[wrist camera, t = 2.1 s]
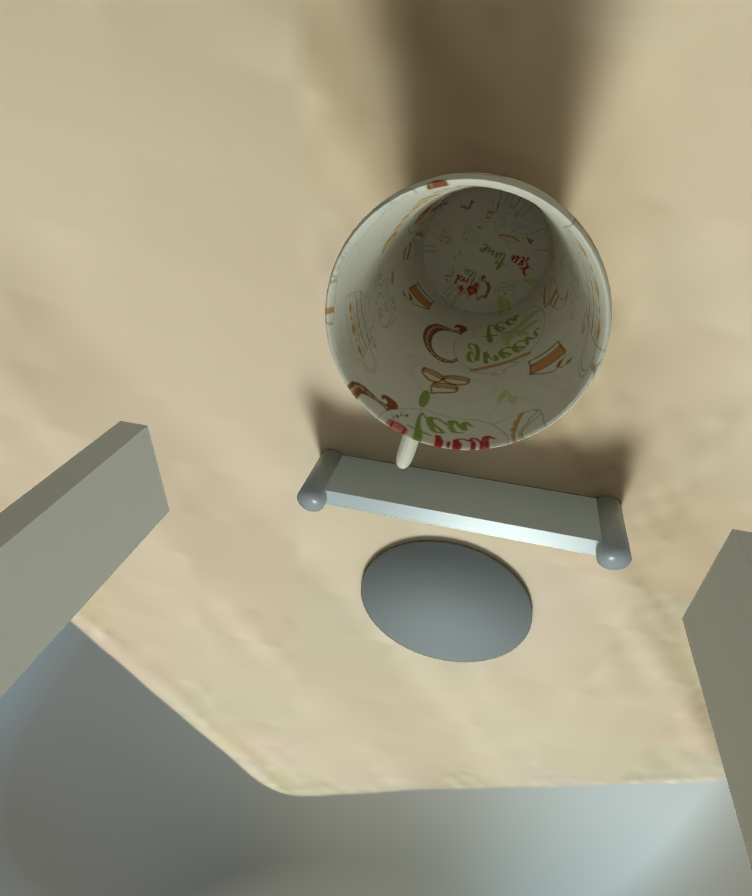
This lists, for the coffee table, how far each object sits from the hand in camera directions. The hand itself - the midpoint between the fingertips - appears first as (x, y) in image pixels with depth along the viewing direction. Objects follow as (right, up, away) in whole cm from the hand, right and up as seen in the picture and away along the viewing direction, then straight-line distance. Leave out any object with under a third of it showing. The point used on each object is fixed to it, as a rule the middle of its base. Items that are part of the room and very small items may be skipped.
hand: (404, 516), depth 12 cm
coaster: (+4, -9, +25) cm, 27 cm away
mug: (+4, +9, +13) cm, 16 cm away
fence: (+4, 0, +18) cm, 19 cm away
